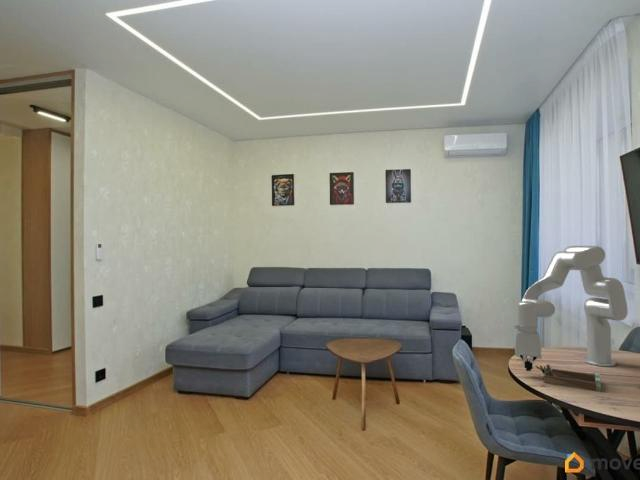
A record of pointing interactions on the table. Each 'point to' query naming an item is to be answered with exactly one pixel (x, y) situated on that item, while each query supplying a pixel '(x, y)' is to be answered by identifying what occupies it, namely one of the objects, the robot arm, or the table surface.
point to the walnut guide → (574, 379)
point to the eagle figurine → (547, 370)
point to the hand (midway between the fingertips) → (528, 370)
